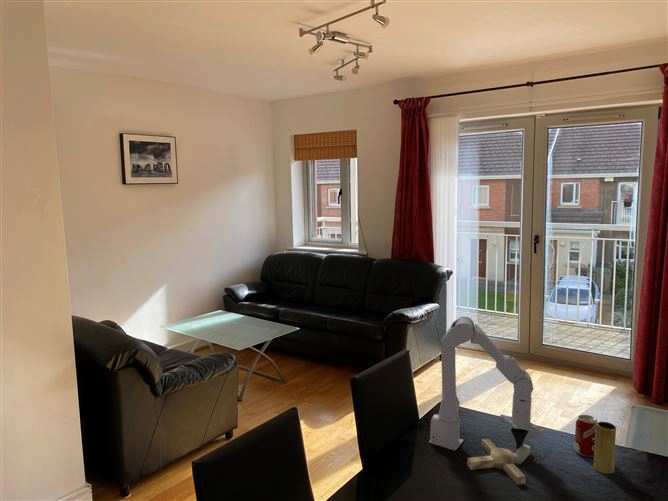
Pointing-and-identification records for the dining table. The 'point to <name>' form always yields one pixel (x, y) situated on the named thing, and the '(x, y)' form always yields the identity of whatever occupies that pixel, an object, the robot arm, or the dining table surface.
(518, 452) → the hinged leg
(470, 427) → the dining table surface
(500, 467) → the stool base
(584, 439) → the soda can
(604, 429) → the vase
